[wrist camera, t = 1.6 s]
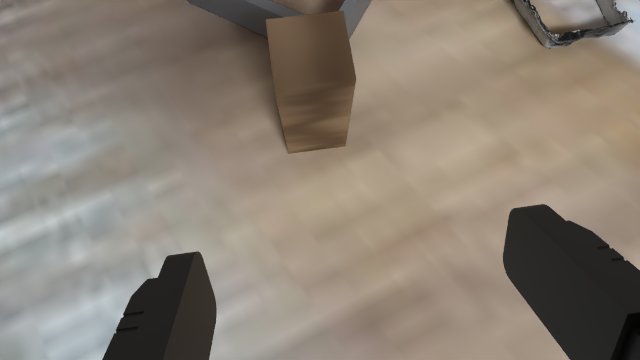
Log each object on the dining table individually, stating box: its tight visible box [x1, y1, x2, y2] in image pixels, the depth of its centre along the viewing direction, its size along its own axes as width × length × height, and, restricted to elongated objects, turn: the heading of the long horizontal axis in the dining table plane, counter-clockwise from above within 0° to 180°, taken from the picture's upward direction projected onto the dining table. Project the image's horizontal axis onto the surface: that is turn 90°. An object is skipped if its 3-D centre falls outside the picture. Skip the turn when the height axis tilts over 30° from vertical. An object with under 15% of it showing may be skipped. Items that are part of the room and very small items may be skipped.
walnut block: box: [266, 11, 356, 154], centre depth 29 cm, size 5×5×11 cm
